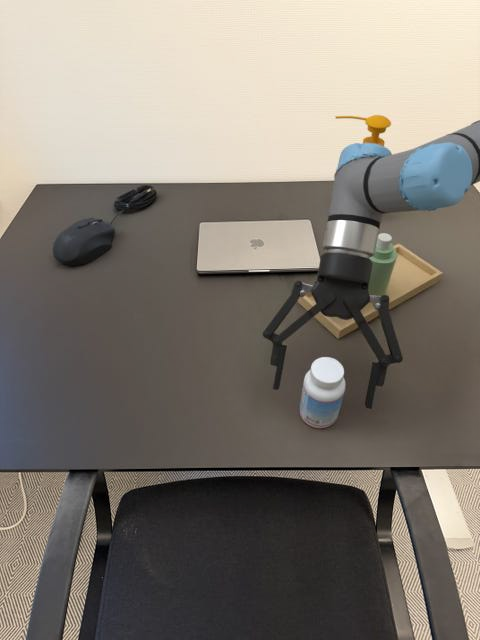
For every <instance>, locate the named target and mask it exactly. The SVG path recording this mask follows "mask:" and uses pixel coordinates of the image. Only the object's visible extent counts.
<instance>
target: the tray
mask: <svg viewBox="0 0 480 640" xmlns="http://www.w3.org/2000/svg"><path fill="white" fill-rule="evenodd" d="M393 246H394V249H395V250H396V252H397V259H396V262H395V265H394V268H393V272H392V275H391V278H390V281H389V284H388V288H387V291H386V294H385V295H387V296H389V311H390V310H392V309H393V308H395V307H397V306H399V305H400V304H402V303H404V302H405V301H407V300H409V299H411V298H413V297H414V296H415V295H418V294H419V293H421V292H424V291H425V290H426V289H428V288H430V287H431V286H434V285H435V284H437V283H439V282H440V280H441V277H442V275H443V272H442V271H441V270H439V269H438V268H437V267H435V266H433V265H431V264H430V263H429V262H428V261H426V260H424V259H423V258H421V257H420V256H419V255H417V254H415V253H414V252H412V251H411V250H409V249H408V248H407V247H405V246H403V245H402V244H400V243H396V244H395V245H393ZM297 303H298V304H299V305H300V306H301V307H302V308H303V309H305V310H306V312H307V311H308V310H309V309H311V308H312V307H313V306H314V305H315V304H316V302H315V300H314V298H313V296H312V293H311V292H308V293H307V294H306V295H305V296H304V297H299V299H298V301H297ZM361 313H362V315H363V316H364V318H365V320H366V322H367V323H369V322H371V321H372V320H374V319H376V318H377V317H379V314H378V310H375V309H374V308H373V304H372V303H370V302H369V303H368V304H367V305H366V306H365V307H364V308H363V309H362V310H361ZM313 318H314V319H315V320H317V321H318V322H319V323H320V324H321V325H322V326H323V327H324V328H325V329H326V330H327V331H329V332H330V333H331V334H332V335H333V336H334V337H336V339H338V340H339V339H341V338H343V337H345V336H346V335H349V333H352V332H354V331H355V330H357V329H359V327H358V325H357V324H356V322H355V320H354V319H353V318H352V319H349V320H344V319H340V318H338V317H327V316H324V315H323V314H322V313H321V312H319V313H318V314H316V315H315V316H314V317H313Z"/></svg>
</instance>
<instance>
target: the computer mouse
mask: <svg viewBox="0 0 480 640" xmlns="http://www.w3.org/2000/svg"><path fill="white" fill-rule="evenodd" d="M157 195H158V192H157V190H156V188H155V187H154V186H153V185H150V184H144V185H143V184H142V185H140V186H138V187H136V188H134V189H131V190H128V191H126V192H125V193H123V194H121V195H118V196H117V197H116V198H115V199H114V203H113V208H115V210H116V211H117V213H116V214H115V215H114V216H113V218H112V219H111V220H110V222H108V221H103V219H102V218H96V217H89V218H85V219H81V220H77V221H76V222H74V223H72V224H71V225H69V226H68V227H66V228H65V229H64V230H62V231H60V233H59V234H57V236H56V238H55V240H54V242H53V245H52V253H53V254H52V255H53V257H54V258H55V260H56V261H57V262H59V263H61V264H63V265H67V266H81V265H84V264H85V265H86V264H88V263H90V262H93V261H94V260H96V259H97V258H99V257H100V256H102V255H103V254H105V253H106V252H107V251H108V250H109V249H110V248H112V246H113V240H114V238H115V231H116V229H115V227H114V226H113V225H111V224H112V223H113V222H114V221H115V219H117V217H118V216H119V215H121V214H122V213H124V212H126V211H132V210H137V209H140V208H145V207H147V206H149V205H150V204H152V203H153V202H154V203H155V201H156V199H157Z"/></svg>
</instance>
